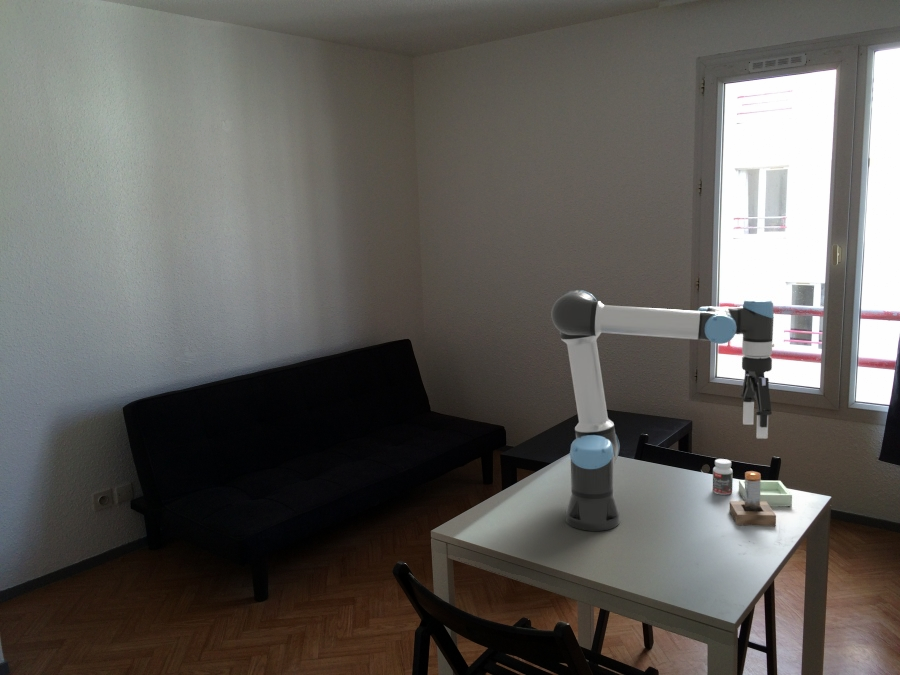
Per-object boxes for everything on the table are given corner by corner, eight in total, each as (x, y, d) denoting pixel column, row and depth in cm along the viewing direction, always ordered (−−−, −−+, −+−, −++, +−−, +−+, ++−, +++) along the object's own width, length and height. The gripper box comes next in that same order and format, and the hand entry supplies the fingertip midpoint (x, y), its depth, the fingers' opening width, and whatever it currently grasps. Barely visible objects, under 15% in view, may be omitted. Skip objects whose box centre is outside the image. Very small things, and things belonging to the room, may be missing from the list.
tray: (748, 505, 213) (748, 494, 212) (738, 491, 224) (738, 480, 224) (791, 506, 211) (792, 495, 210) (780, 491, 222) (780, 480, 222)
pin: (746, 520, 202) (746, 476, 201) (742, 515, 206) (743, 471, 204) (761, 521, 202) (762, 476, 200) (757, 515, 206) (758, 471, 204)
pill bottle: (712, 494, 223) (712, 463, 221) (712, 488, 228) (713, 457, 226) (732, 496, 221) (732, 464, 219) (732, 489, 226) (733, 459, 224)
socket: (737, 525, 200) (737, 514, 200) (729, 510, 210) (729, 500, 209) (775, 525, 198) (776, 515, 198) (766, 511, 208) (766, 501, 208)
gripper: (786, 364, 186) (783, 444, 190) (758, 347, 211) (756, 418, 214) (755, 364, 187) (753, 444, 191) (731, 348, 212) (729, 418, 215)
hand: (754, 431), depth 202 cm, fingers open, 13 cm apart
